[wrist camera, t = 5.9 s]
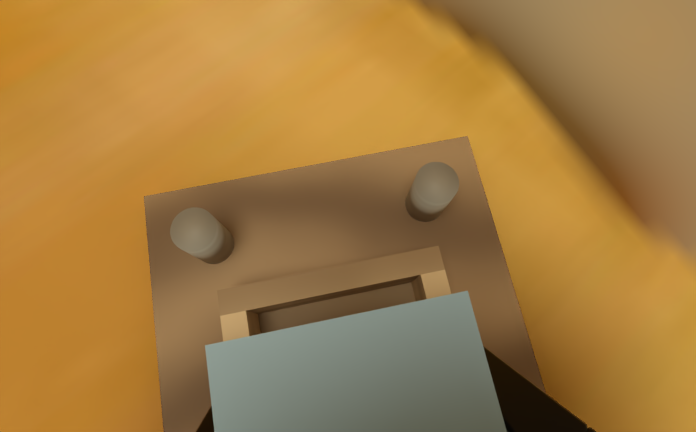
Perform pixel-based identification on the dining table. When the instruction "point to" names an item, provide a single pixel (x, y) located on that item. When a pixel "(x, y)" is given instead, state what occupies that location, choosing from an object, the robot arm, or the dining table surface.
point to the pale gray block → (360, 374)
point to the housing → (322, 258)
